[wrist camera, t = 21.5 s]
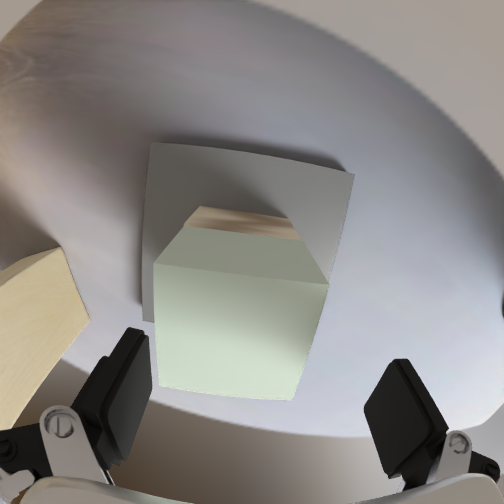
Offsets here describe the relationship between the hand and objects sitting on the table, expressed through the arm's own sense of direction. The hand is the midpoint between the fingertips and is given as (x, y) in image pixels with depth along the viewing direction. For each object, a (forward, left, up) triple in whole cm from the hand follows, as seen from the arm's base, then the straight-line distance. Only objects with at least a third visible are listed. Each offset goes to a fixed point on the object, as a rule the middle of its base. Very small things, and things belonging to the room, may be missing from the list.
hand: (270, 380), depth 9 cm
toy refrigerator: (+20, +6, -13) cm, 24 cm away
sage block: (+2, -1, -6) cm, 6 cm away
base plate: (+2, -1, -13) cm, 13 cm away
